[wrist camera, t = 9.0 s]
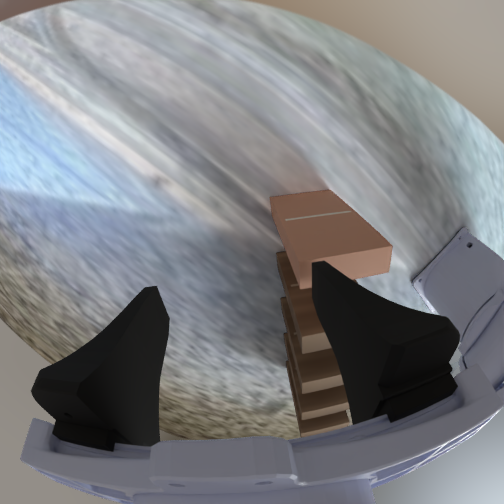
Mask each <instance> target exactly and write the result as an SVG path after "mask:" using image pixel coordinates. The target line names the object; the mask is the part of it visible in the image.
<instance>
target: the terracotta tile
mask: <svg viewBox="0 0 504 504" xmlns="http://www.w3.org/2000/svg"><path fill="white" fill-rule="evenodd" d="M270 203H271V211H272V217H273V220H274V222H275V225H276V227H277V230H278V232H279V235H280V237H281V240H282V243H283V245H284V248H285V250H286V253H287V255H288V258H289V261H290V263H291V266H292V269H293V271H294V274H295V277H296V279H297V282H298V285H299V287H300V289H305V288H311V287H312V262H318V261H326V262H327V263H329V264H330V265H332V266H333V267H334V268H336V269H337V270H339V271H340V272H341V273H343V274H344V275H346V276H347V277H348V278H350V279H351V280H353V279H358V278H363V277H368V276H373V275H378V274H383V273H387V272H389V268H390V262H391V254H392V247H393V246H392V245H391V244H390V243H389V242H388V241H387V240H386V239H385V238H384V237H383V236H382V235H381V234H380V233H379V232H378V231H377V230H375V229H374V228H373V227H372V226H371V225H370V224H369V223H368V222H367V221H366V220H365V219H363V218H362V217H361V216H360V215H359V214H358V213H357V212H356V211H354V210H353V209H352V208H351V207H350V206H349V205H348V204H346V203H345V202H344V201H343V200H342V199H341V198H339V197H338V196H337V195H336V194H335V193H333V192H332V191H331V190H323V191H314V192H306V193H298V194H290V195H282V196H275V197H270Z"/></svg>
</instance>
